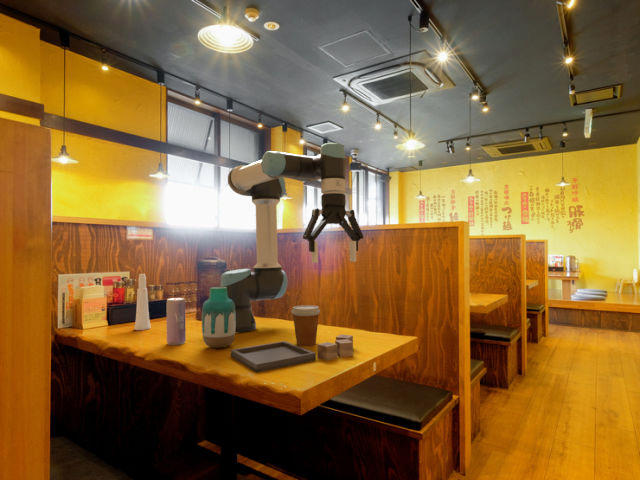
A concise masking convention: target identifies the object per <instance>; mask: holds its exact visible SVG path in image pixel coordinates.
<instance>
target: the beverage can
mask: <svg viewBox="0 0 640 480" xmlns="http://www.w3.org/2000/svg"><path fill="white" fill-rule="evenodd" d="M186 328H187V327H186V299H185V298H184V297H171V298H167V299H166V344H167V345H168V346H179V345H183V344H185V342H186V341H187V339H186V332H187V331H186Z"/></svg>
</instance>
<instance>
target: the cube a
mask: <svg viewBox="0 0 640 480" xmlns="http://www.w3.org/2000/svg"><path fill="white" fill-rule="evenodd" d="M316 347H317V351H316V353H317V359H320V360H322V359H323V361H327V362H328V361H332V360H335V358H336V359H338V355H337V344H335V342H329V341H326V342H321V343H318V344H317V346H316Z"/></svg>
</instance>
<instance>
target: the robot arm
mask: <svg viewBox="0 0 640 480" xmlns="http://www.w3.org/2000/svg"><path fill="white" fill-rule="evenodd" d="M284 178H290V179H291V178H292V179H301V180H303V181H305V182H308V183H309V182H316V181H319V180H320V182H321V183H320V185H321V186H320V188H321V191H320V192H321V193H322V195H321V197H320V198H321V201H320V203H321V204H320V205H321V209H319V208H313V209H312V212H311V217H310V220H309V222H308V224H307V226H306V228H305V231H304V233H303V236H302V238H303V240H306V241H307V242H308V251H309V252H310V253H311V264H319V262H318V261H319V255H318V254H319V252H318V250H319V249H318V241H316V240H317V238H318V237H319V236H320V235H321V233H322V231H323V230H324V229H325V227H326V226H327V225H332V224H333V225H339V226H341V228H342V229H343V230H344V232H345V233H346V234H347V236H348V237H349V238H350V240H349V262H353V263H355V262H356V263H357V252H358V251H359V241H360V240H363V239H364V235H363V232H362V230H361V227H360V225H359V223H358V221H357V218H356V215H355V210H354V209H349V210H346V203H347V202H346V199H347V198H346V194H344V193H346V154H345V147H344V145H343V144H341V143H338V142H327V143H323V144H322V145H321V146H320V152H319V154H318V155H315V156H310V155H303V154H297V153H288V152H283V151H279V150H278V151H277V150H275V151H273V150H268V151H265V153H264V154H263V156H262V157H261V159H260V160H258V161H255V162H251V163H250V164H248V165H242V164H241V165H238V166H235V167H234V168H232V169H231V170H230V171H229V172H228V175H227V183H228V186H229V187H230V189H231V190H232V191H233V192H234V193H236V194H238V195H241V196H245V197H251V202H252V204H254V206H255V230H256V231H255V237H256V240H255V241H256V243H255V244H256V264H255V265H253V267H252V268H253V269H252V270H251V268H239V269H234V270H229V271H225V272H223V273H222V274H221V276H220V286H219V287H227V293H228V298H229V299H231V300H232V301H233V302H234V305H235V313H236V329H235V334H239V333H240V334H241V333H246V332H251V331H254V330H256V329H257V322H256V319H255V316H254V314H253V310H252V302H257V301H265V300H275V299H280V298H282V297H283V296H284V295H285V293H286V290H287V288H288V276H287V272H286V271H284V270H282V265H281V264H280V263H279V262H278V259H279V257H278V224H277V223H278V222H277V221H278V218H277V217H278V216H277V215H278V214H277V213H278V212H277V205H278V204H279V203H280V201H281V198H283V197H284V195H285V191H286V181H285V179H284ZM320 216H322V219H321V220H320V221H319V224H318V225H317V222H318V220H319V217H320ZM346 217H347V219H346ZM316 225H317V226H316ZM315 226H316V227H315ZM314 228H315V229H314Z"/></svg>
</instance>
